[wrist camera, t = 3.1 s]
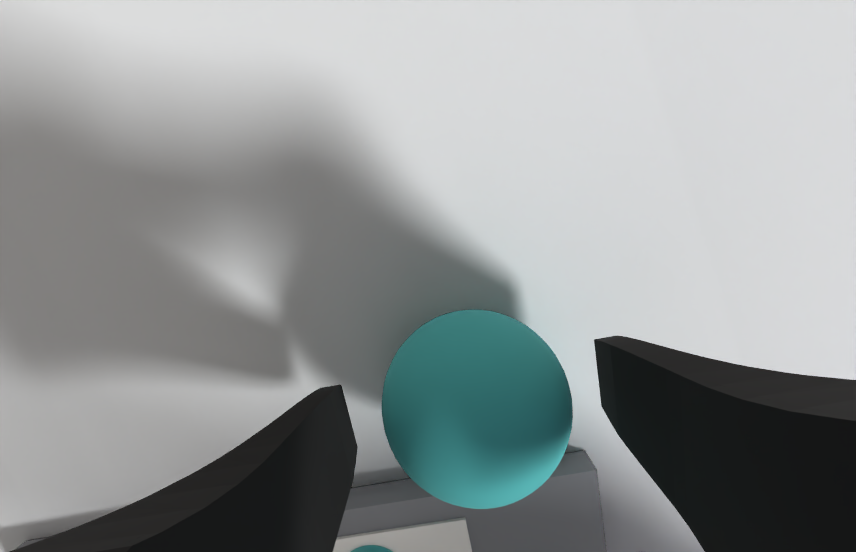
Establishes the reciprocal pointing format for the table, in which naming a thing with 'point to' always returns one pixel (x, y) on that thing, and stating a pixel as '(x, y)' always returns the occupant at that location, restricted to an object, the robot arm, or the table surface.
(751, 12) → the table surface
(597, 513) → the sorting tray
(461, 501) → the loose teal ball
